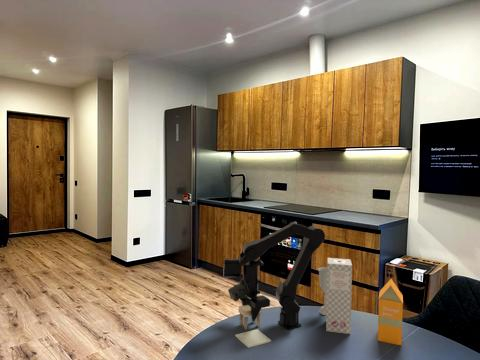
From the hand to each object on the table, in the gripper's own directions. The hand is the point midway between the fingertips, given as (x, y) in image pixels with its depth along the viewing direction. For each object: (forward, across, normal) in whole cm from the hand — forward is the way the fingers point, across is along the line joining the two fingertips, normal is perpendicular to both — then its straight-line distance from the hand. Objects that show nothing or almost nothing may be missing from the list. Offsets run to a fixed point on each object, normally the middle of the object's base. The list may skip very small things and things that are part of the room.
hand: (249, 317), depth 127 cm
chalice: (+3, +4, +34) cm, 34 cm away
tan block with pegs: (+3, 0, 0) cm, 3 cm away
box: (+3, +16, +29) cm, 33 cm away
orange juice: (+3, +30, +40) cm, 50 cm away
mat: (+3, +9, -4) cm, 10 cm away
